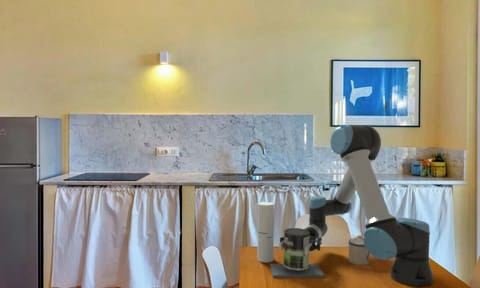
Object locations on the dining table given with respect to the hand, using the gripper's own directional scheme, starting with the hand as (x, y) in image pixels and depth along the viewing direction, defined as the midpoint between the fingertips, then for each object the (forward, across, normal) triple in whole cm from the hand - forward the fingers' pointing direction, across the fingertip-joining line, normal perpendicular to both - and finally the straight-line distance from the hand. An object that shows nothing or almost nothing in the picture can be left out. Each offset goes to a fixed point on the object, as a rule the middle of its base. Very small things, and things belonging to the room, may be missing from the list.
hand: (292, 249), depth 146 cm
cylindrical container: (-11, +17, -11) cm, 23 cm away
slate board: (-4, 0, -10) cm, 11 cm away
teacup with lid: (-30, -19, -11) cm, 37 cm away
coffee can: (-4, 0, -8) cm, 9 cm away
